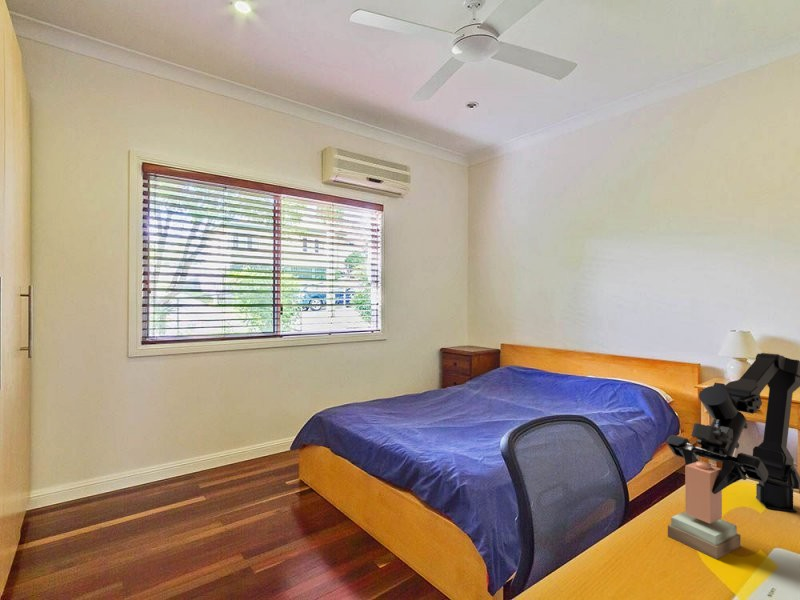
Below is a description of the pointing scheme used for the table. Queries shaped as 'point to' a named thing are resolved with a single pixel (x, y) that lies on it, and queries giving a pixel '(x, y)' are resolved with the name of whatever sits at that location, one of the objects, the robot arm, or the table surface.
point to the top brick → (702, 492)
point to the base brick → (705, 535)
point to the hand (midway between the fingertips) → (700, 488)
